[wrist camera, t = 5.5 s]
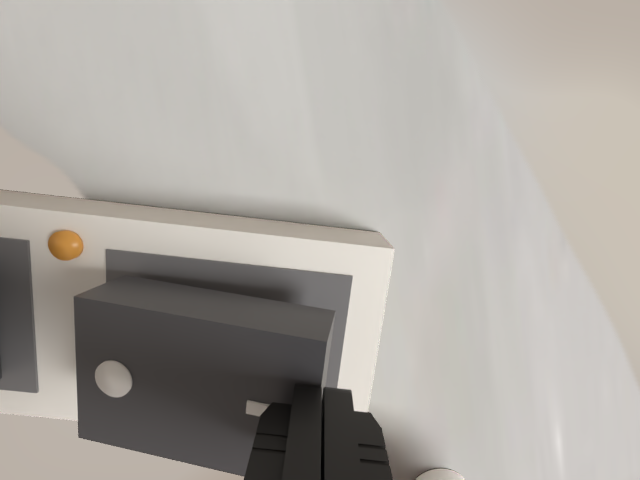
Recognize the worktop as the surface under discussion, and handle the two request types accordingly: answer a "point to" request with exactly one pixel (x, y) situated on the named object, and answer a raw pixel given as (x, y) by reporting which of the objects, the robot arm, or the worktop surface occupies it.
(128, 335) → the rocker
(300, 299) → the power strip
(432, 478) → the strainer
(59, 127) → the worktop surface
